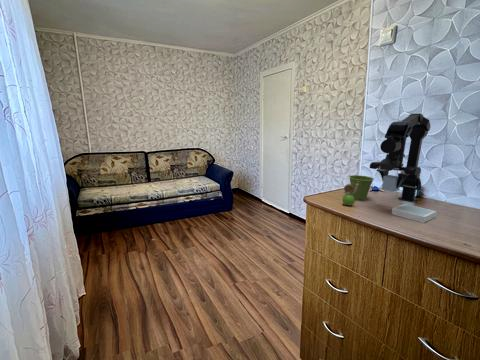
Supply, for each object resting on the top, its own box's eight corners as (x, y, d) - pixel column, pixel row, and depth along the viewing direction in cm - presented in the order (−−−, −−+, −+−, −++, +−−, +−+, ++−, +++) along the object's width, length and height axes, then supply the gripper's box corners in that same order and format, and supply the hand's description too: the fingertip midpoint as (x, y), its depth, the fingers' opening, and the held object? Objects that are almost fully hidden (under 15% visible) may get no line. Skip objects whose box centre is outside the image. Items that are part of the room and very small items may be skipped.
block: (387, 187, 112) (389, 174, 111) (399, 190, 108) (401, 176, 107) (381, 189, 110) (383, 176, 108) (393, 191, 105) (395, 178, 104)
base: (404, 208, 113) (405, 203, 112) (435, 216, 103) (436, 211, 102) (391, 213, 106) (392, 208, 106) (423, 222, 96) (424, 216, 96)
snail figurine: (357, 207, 114) (360, 182, 111) (343, 206, 115) (345, 181, 113) (354, 203, 119) (357, 180, 117) (340, 203, 120) (343, 179, 118)
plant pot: (344, 199, 127) (347, 178, 124) (348, 194, 137) (350, 174, 134) (370, 203, 121) (373, 181, 118) (372, 197, 130) (374, 176, 128)
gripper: (364, 150, 108) (360, 184, 112) (411, 155, 93) (405, 194, 97) (378, 149, 114) (373, 181, 118) (424, 153, 99) (417, 190, 103)
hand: (390, 186), depth 109 cm, fingers closed on block, 5 cm apart
